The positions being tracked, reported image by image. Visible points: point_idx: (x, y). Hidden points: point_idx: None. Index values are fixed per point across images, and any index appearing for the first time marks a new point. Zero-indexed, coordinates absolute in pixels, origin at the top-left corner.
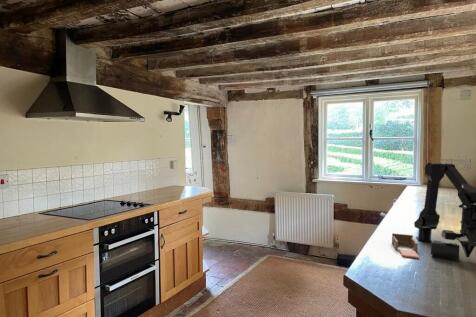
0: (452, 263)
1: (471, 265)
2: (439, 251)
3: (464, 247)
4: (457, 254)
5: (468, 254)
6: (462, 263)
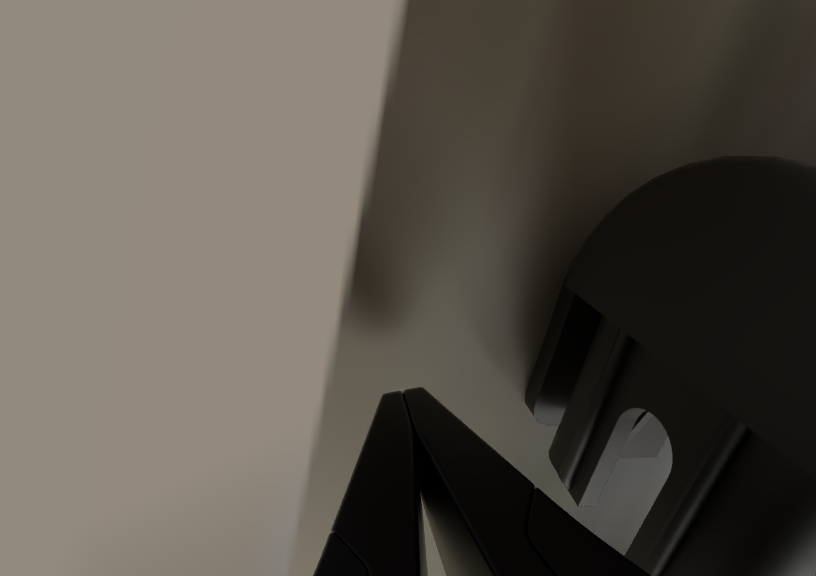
0: (732, 22)
1: (389, 66)
2: None
3: (603, 546)
4: (771, 160)
5: (405, 423)
6: (532, 127)
